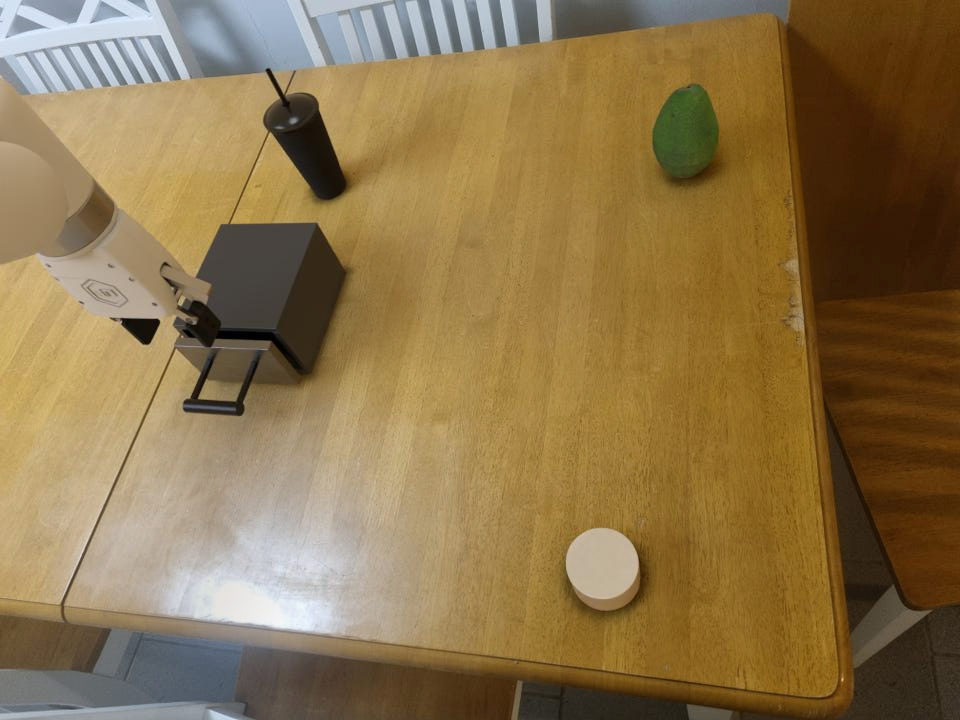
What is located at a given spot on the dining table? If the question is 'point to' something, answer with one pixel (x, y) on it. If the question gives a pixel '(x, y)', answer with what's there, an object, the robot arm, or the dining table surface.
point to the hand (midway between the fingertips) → (182, 333)
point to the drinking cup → (305, 140)
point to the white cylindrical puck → (603, 568)
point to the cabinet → (273, 284)
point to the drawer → (236, 367)
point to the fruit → (686, 132)
